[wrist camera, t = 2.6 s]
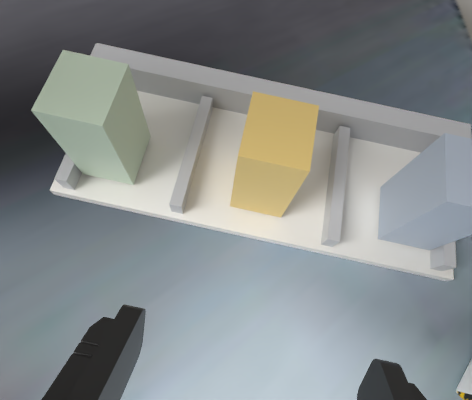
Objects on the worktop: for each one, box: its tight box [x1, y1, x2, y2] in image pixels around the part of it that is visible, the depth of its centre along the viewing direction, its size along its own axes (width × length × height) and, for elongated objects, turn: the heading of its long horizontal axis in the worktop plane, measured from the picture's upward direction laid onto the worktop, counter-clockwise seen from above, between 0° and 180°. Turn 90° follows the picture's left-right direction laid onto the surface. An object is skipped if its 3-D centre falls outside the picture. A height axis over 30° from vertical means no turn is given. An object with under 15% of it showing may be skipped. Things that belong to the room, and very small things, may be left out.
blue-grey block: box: [378, 133, 472, 250], centre depth 25 cm, size 5×4×9 cm
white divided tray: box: [50, 43, 472, 281], centre depth 30 cm, size 14×35×4 cm, turn 78°
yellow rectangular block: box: [230, 91, 319, 217], centre depth 26 cm, size 5×4×9 cm
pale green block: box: [31, 50, 151, 185], centre depth 26 cm, size 5×4×9 cm
